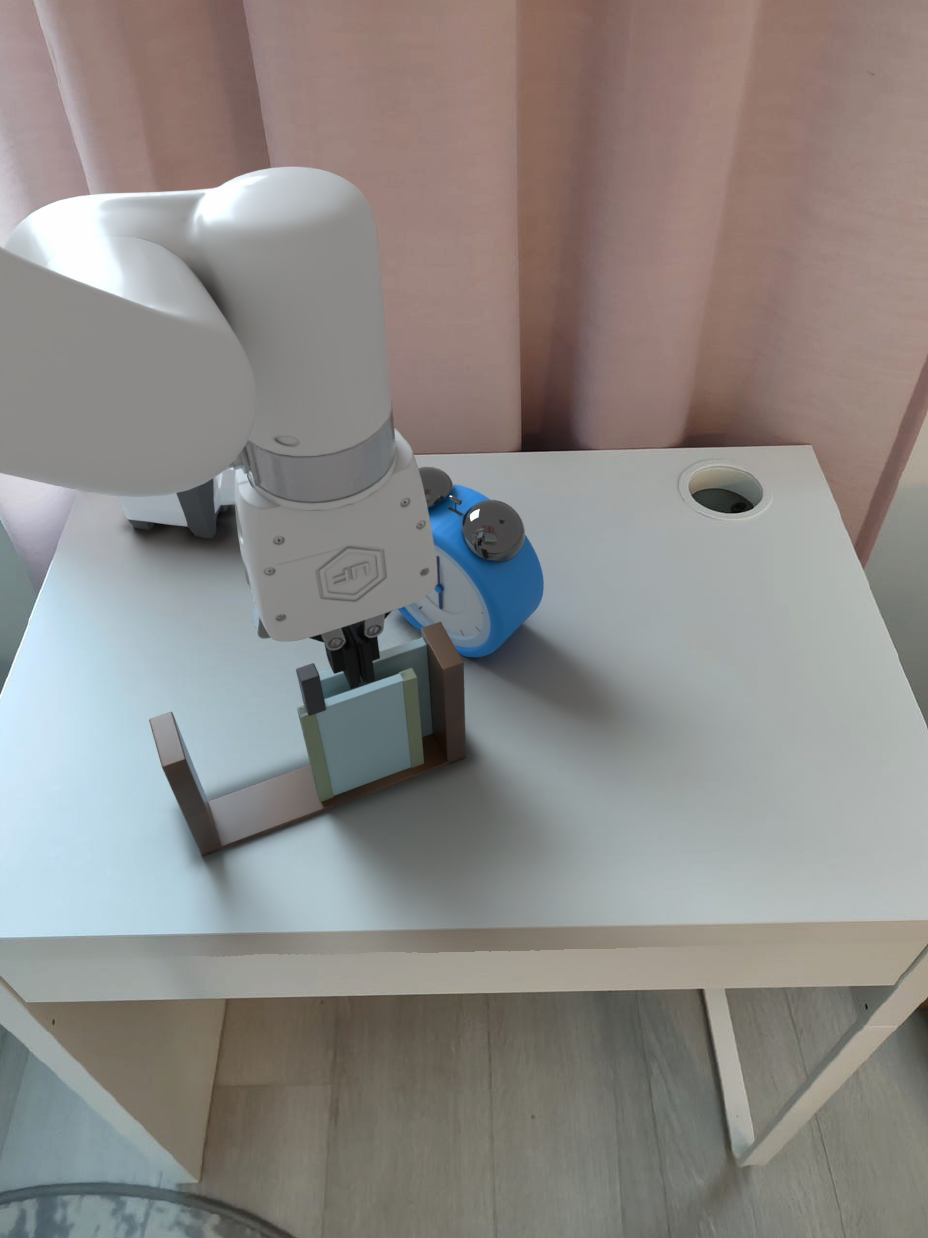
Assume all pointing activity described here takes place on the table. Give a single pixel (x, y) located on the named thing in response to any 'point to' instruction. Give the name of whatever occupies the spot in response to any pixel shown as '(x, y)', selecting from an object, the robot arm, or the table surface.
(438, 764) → the window frame
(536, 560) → the alarm clock
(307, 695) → the pane
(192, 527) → the giant panda
